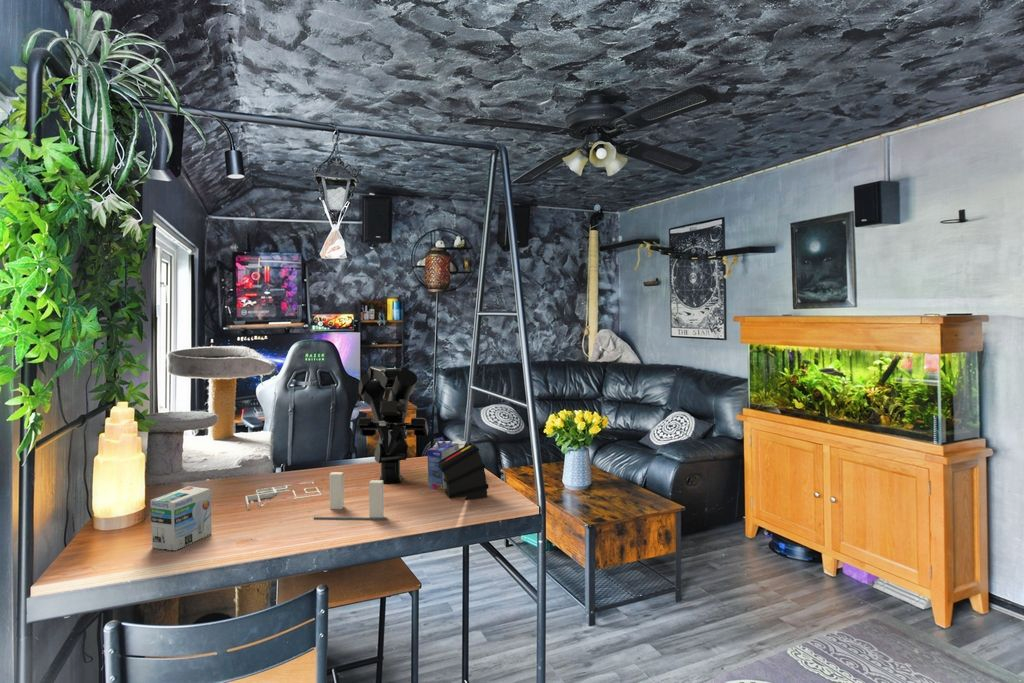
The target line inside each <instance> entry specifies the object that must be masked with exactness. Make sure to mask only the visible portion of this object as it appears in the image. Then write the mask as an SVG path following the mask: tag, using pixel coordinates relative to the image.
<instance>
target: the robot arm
mask: <svg viewBox="0 0 1024 683" xmlns="http://www.w3.org/2000/svg"><path fill="white" fill-rule="evenodd" d="M408 367H409V366H400V367H398V368H389V367H386V366H383V365H377V366H374V365H372V366H369V367H368V369H367V371H366V373H365V374H364V375H362V376H361V378H360V380H359V383H358V393H359V395H360V397H361V399H362V401H363V402H364V403H366V404H367V405H369V406H370V410H371V412H372V416H373V417H364V416H363V417H359V419H357V423H356V426H357V429H358V431H359V434H360V436H362V437H374V436H375V435H376V434H377V432H378V434H379V436H378V441H377V444H376V446H375V450H374V453H373V454H374V460H375V462H377V463H378V464H380V478H379V480H383V484H393V483H401V482H402V479H403V474H401V461H406V460H407V456H408V449H409V444H408V442H407V440H406V439H407V438H408V436H407V432H408V431H413V434H414V436H415V437H417V438H419V437H420V438H423V437H424V438H427V437H428V435H429V426H428V422H427V419H426V418H425V417H412V418H410V419H411V420H410V422H406V418H407V415H408V413H407V412H408V405H409V400H410V396H411V395H412V393H413V391H414V388H415V386H416V385H417V382H418V376H417V374H416V373H415V372H414V371H412V370H410V369H409V368H408ZM387 389H389V395H388V399H387V400H385V396H386V392H387Z"/></svg>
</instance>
